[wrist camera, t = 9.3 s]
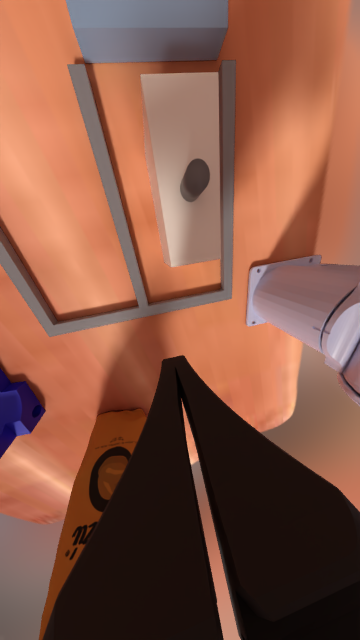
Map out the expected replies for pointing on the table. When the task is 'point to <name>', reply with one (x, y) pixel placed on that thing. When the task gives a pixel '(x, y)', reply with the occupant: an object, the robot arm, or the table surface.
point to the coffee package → (93, 491)
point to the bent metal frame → (13, 266)
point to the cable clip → (16, 411)
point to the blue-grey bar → (149, 29)
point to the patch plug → (184, 163)
